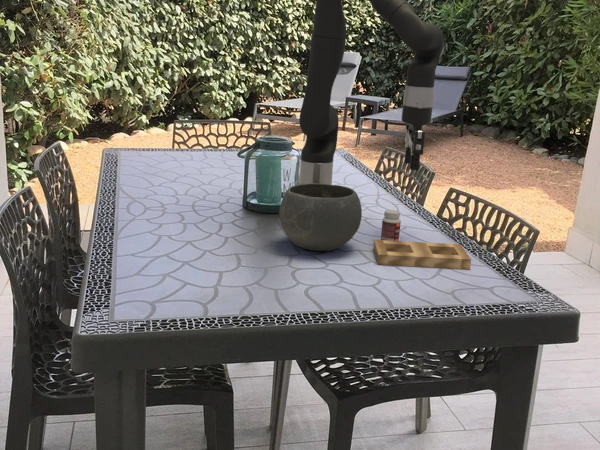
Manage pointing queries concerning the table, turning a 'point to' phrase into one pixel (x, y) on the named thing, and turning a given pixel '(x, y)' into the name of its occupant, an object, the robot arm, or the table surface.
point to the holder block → (421, 254)
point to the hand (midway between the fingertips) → (411, 166)
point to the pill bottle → (391, 225)
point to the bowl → (320, 215)
